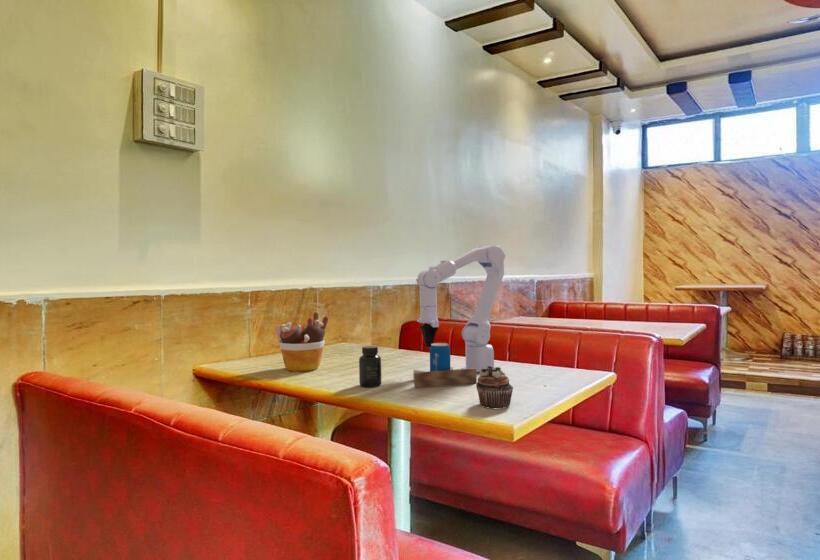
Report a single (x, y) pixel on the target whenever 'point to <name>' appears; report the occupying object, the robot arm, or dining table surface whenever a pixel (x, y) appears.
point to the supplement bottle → (370, 367)
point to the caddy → (444, 377)
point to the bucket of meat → (302, 344)
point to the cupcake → (494, 388)
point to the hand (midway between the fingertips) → (429, 346)
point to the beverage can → (439, 357)
